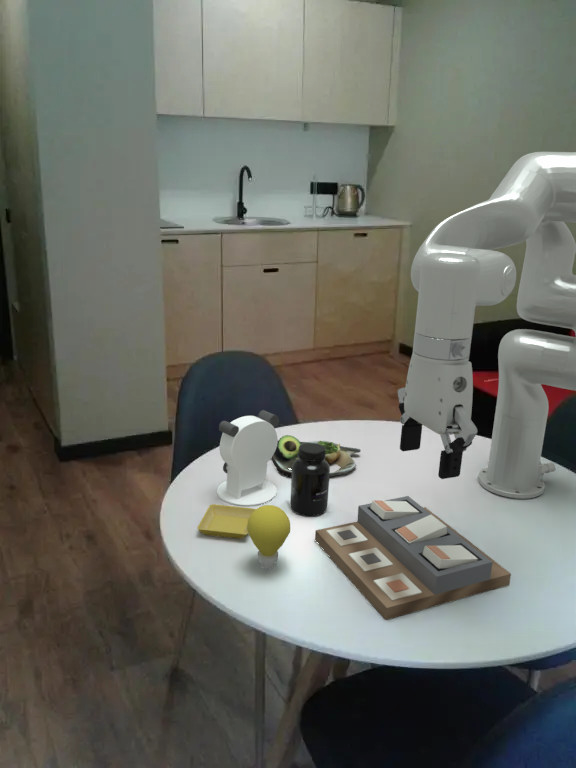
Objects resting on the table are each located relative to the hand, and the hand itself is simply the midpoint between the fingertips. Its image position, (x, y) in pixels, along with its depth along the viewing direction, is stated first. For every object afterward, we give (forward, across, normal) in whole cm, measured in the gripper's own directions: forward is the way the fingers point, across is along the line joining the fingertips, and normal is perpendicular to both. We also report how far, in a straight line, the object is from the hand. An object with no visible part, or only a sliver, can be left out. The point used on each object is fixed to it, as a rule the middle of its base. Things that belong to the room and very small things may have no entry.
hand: (428, 462), depth 96 cm
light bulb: (+20, +12, +19) cm, 30 cm away
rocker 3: (+15, -2, -4) cm, 16 cm away
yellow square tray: (+21, +25, +22) cm, 39 cm away
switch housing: (+18, +5, -4) cm, 19 cm away
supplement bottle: (+20, +26, +6) cm, 34 cm away
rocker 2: (+15, +5, -4) cm, 16 cm away
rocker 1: (+15, +13, -4) cm, 20 cm away
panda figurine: (+20, +36, +14) cm, 44 cm away
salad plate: (+20, +45, -3) cm, 49 cm away
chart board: (+20, +5, -2) cm, 21 cm away
